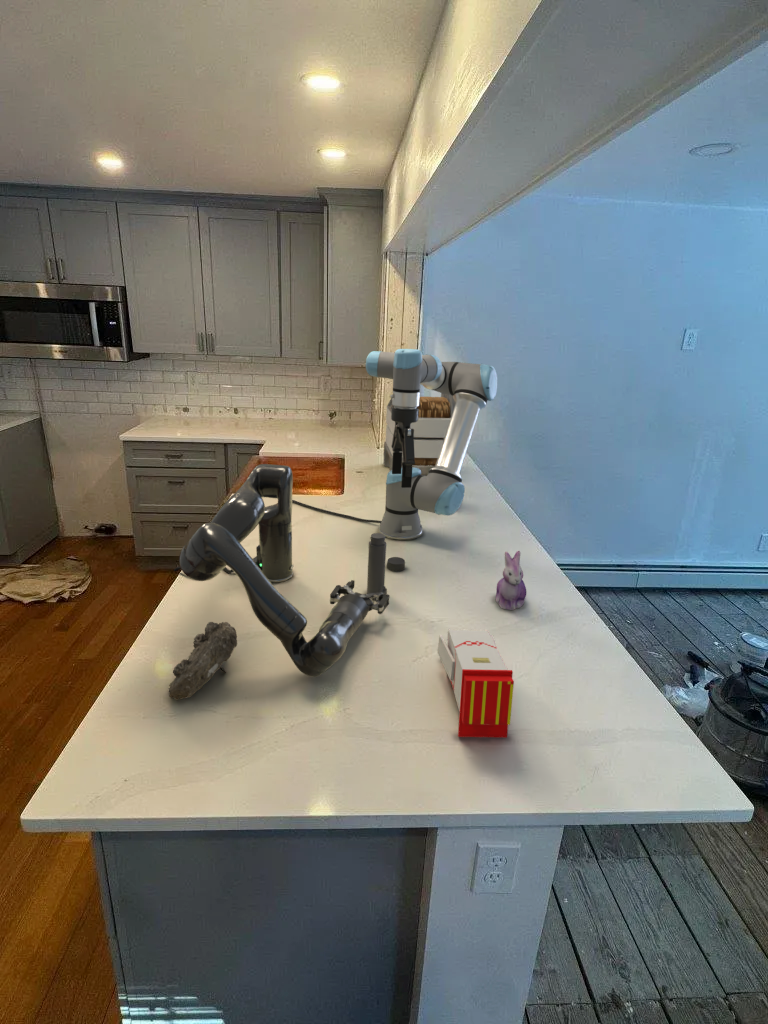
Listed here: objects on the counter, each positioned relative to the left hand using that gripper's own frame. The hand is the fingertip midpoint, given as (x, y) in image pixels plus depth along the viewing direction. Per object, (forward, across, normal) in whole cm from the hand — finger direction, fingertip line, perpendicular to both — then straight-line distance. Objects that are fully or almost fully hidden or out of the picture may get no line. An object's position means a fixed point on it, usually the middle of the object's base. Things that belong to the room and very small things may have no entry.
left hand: (368, 586), depth 149 cm
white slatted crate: (+132, -18, -7) cm, 134 cm away
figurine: (+16, +36, -6) cm, 40 cm away
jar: (+7, 0, -6) cm, 10 cm away
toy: (-26, +31, -6) cm, 41 cm away
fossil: (-39, -23, -6) cm, 46 cm away
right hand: (+26, 0, +22) cm, 34 cm away
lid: (+26, 0, -4) cm, 26 cm away
